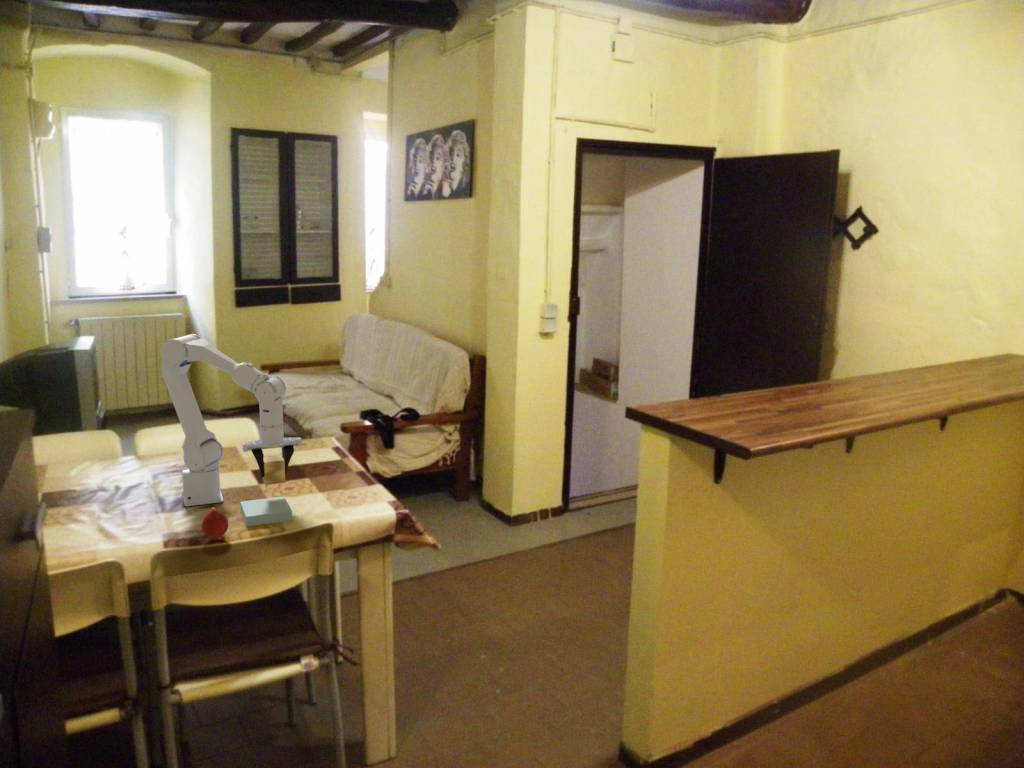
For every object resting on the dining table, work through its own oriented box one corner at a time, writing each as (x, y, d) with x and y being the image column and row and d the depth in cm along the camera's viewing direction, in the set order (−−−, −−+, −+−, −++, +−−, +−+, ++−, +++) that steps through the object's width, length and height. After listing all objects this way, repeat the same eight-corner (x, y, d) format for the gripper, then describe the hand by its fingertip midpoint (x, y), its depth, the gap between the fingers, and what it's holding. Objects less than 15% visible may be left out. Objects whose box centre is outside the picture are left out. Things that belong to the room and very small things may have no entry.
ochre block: (265, 484, 199) (264, 462, 198) (262, 478, 203) (261, 457, 202) (285, 482, 201) (284, 460, 200) (282, 476, 205) (281, 455, 204)
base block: (246, 528, 190) (246, 516, 189) (240, 512, 200) (240, 501, 199) (292, 521, 195) (291, 510, 194) (284, 506, 204) (284, 496, 204)
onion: (232, 534, 185) (230, 503, 183) (224, 544, 179) (222, 512, 177) (207, 534, 185) (205, 502, 183) (198, 544, 179) (196, 511, 177)
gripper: (244, 431, 192) (246, 482, 195) (303, 425, 199) (304, 476, 201) (240, 424, 198) (242, 474, 201) (298, 419, 205) (299, 467, 208)
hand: (273, 474), depth 202 cm, fingers closed on ochre block, 5 cm apart
